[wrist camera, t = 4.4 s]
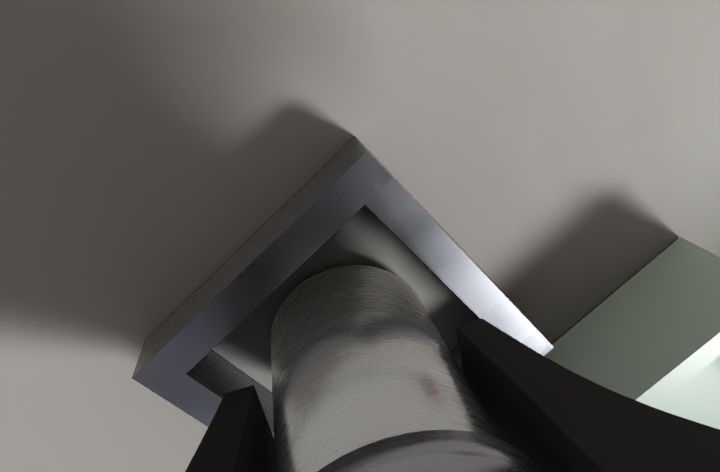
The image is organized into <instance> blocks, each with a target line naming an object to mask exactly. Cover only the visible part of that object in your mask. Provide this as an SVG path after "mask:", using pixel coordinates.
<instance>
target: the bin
mask: <svg viewBox="0 0 720 472" xmlns="http://www.w3.org/2000/svg"><path fill="white" fill-rule="evenodd" d="M552 346H553V347H554V348H553V349H552V350H551V351H550V352H548V353H547V354H546V355H545V357H547V358H548V359H550V360H552V361H554V362H555V363H557V364H559V365H561V366H563V367H565V368H566V369H568V370H570V371H572V372H574V373H576V374H578V375H580V376H582V377H584V378H586V379H588V380H590V381H592V382H595V383H597V384H599V385H601V386H603V387H605V388H607V389H610V390H612V391H614V392H616V393H619V394H621V395H624V396H626V397H629V398H631V399H634V400H636V401H639V402H641V403H643V404H646V405H648V406H651V407H654V408H656V409H659V410H662V411H665V412H667V413H670V414H673V415H676V416H679V417H682V418H685V419H688V420H691V421H694V422H698V423H701V424H704V425H707V426H710V427H713V428H716V429H720V257H718V256H716V255H714V254H712V253H710V252H708V251H706V250H704V249H702V248H700V247H698V246H696V245H694V244H692V243H690V242H688V241H686V240H685V239H683V238H681V237H679V238H678V239H677V240H676V241H675V242H674V243H672V244H671V245H670V246H669V247H668V248H666V249H665V250H664V251H663V252H662V253H660V254H659V255H658V256H657V257H656V258H654V259H653V260H652V261H651V262H650V263H649V264H647V265H646V266H645V267H644V268H643V269H641V270H640V271H639V272H638V273H637V274H635V275H634V276H633V277H632V278H631V279H630V280H628V281H627V282H626V283H625V284H624V285H622V286H621V287H620V288H619V289H618V290H616V291H615V292H614V293H613V294H612V295H610V296H609V297H608V298H607V299H606V300H605V301H603V302H602V303H601V304H600V305H599V306H597V307H596V308H595V309H594V310H593V311H591V312H590V313H589V314H588V315H587V316H586V317H584V318H583V319H582V320H581V321H580V322H578V323H577V324H576V325H575V326H574V327H572V328H571V329H570V330H569V331H568V332H566V333H565V334H564V335H563V336H562V337H561V338H559V339H558V340H557V341H556V342H555V343H553V344H552Z"/></svg>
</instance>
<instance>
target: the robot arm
mask: <svg viewBox="0 0 720 472" xmlns="http://www.w3.org/2000/svg"><path fill="white" fill-rule="evenodd" d="M456 332H457V338H458V343H459V349H460V355H461V361H462V367H463V373H464V377H465V379H466V381H467V382H468V384H469V386H470V388H471V389H472V391H473V393H474V395H475V396H476V398H477V400H478V402H479V403H480V405H481V407H482V408H483V410H484V412H485V414H486V415H487V417H488V419H489V421H490V422H491V424H492V426H493V427H494V429H495V431H496V433H497V434H498V436H499V438H500V440H502V441H504V442H506V443H508V444H510V445H512V446H514V447H516V448H517V449H519V450H520V451H522V452H523V453H524V454H525V455H527V456H528V457H529V458H531V460H532V461H533V462H534V463H535V464H536V465H537V466H538V467H539V468H540V470H541V471H542V472H720V429H716V428H713V427H710V426H707V425H704V424H701V423H698V422H694V421H691V420H688V419H685V418H682V417H679V416H676V415H673V414H670V413H667V412H665V411H662V410H659V409H656V408H654V407H651V406H648V405H646V404H643V403H641V402H639V401H636V400H634V399H631V398H629V397H626V396H624V395H621V394H619V393H616V392H614V391H612V390H610V389H607V388H605V387H603V386H601V385H599V384H597V383H595V382H592V381H590V380H588V379H586V378H584V377H582V376H580V375H578V374H576V373H574V372H572V371H570V370H568V369H566V368H565V367H563V366H561V365H559V364H557V363H555V362H554V361H552V360H550V359H548V358H547V357H545V356H543V355H541V354H540V353H538V352H536V351H534V350H533V349H531V348H529V347H528V346H526V345H524V344H523V343H521V342H519V341H518V340H516V339H515V338H513V337H511V336H510V335H508V334H507V333H505V332H503V331H502V330H500V329H499V328H497V327H495V326H494V325H492V324H490V323H489V322H487V321H485V320H484V319H478V320H475V321H472V322H468V323H465V324H461V325H458V326H456ZM185 472H275V447H274V437H273V435H272V432H271V429H270V427H269V424H268V421H267V419H266V416H265V413H264V411H263V408H262V405H261V403H260V400H259V397H258V395H257V392H256V389H255V387H254V385H252V386H249V387H245V388H242V389H238V390H235V391H231V392H228V393H226V394H225V395H224V397H223V398H222V400H221V402H220V404H219V406H218V408H217V411H216V413H215V415H214V417H213V419H212V421H211V423H210V425H209V427H208V429H207V431H206V433H205V435H204V437H203V439H202V441H201V443H200V445H199V447H198V449H197V451H196V453H195V454H194V456H193V458H192V460H191V462H190V464H189V466H188V467H187V469H186V471H185Z"/></svg>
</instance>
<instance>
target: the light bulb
mask: <svg viewBox="0 0 720 472" xmlns="http://www.w3.org/2000/svg"><path fill="white" fill-rule="evenodd" d="M271 366H272V393H273V420H274V447H275V472H542V471H541V470H540V468H539V467H538V466H537V465H536V464H535V463H534V462H533V461H532V460H531V458H529V457H528V456H527V455H525V454H524V453H523V452H522V451H520V450H519V449H517V448H516V447H514V446H512V445H510V444H508V443H506V442H504V441H502V440H500V438H499V436H498V434H497V433H496V431H495V429H494V427H493V426H492V424H491V422H490V421H489V419H488V417H487V415H486V414H485V412H484V410H483V408H482V407H481V405H480V403H479V402H478V400H477V398H476V396H475V395H474V393H473V391H472V389H471V388H470V386H469V384H468V382H467V381H466V379H465V377H464V376H463V374H462V372H461V370H460V369H459V367H458V365H457V363H456V362H455V360H454V358H453V356H452V355H451V353H450V351H449V350H448V348H447V346H446V344H445V343H444V341H443V339H442V337H441V336H440V334H439V332H438V330H437V329H436V327H435V325H434V324H433V322H432V320H431V318H430V317H429V315H428V313H427V311H426V310H425V308H424V306H423V305H422V303H421V301H420V299H419V298H418V296H417V295H416V293H415V292H414V290H413V289H412V288H411V287H410V286H409V285H408V284H407V283H406V282H405V281H404V280H402V279H401V278H399V277H398V276H396V275H395V274H393V273H391V272H388V271H386V270H383V269H380V268H377V267H372V266H366V265H347V266H340V267H335V268H331V269H328V270H325V271H322V272H320V273H318V274H316V275H314V276H312V277H310V278H309V279H307V280H305V281H304V282H302V283H301V284H300V285H299V286H297V287H296V288H295V289H294V290H293V291H292V292H291V293H290V294H289V295H288V296H287V297H286V299H285V300H284V301H283V303H282V304H281V306H280V308H279V310H278V311H277V313H276V316H275V319H274V321H273V325H272V330H271Z"/></svg>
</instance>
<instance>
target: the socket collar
mask: <svg viewBox="0 0 720 472" xmlns="http://www.w3.org/2000/svg"><path fill="white" fill-rule="evenodd" d="M364 205H366V206H367V207H368V208H369V209H370V210H371V211H372V212H373V213H374V214H375V215H376V216H377V217H378V218H379V219H380V220H381V221H382V222H383V223H384V224H385V225H386V226H387V227H388V228H389V229H390V230H391V231H392V232H393V233H394V234H395V235H396V236H397V237H398V238H399V239H400V240H401V241H402V242H403V243H404V244H405V245H406V246H407V247H408V248H409V249H410V250H411V251H412V252H413V253H414V254H415V255H416V256H417V257H418V258H419V259H420V260H421V261H422V262H423V263H424V264H426V265H427V266H428V267H429V268H430V269H431V270H432V271H433V272H434V273H435V274H436V275H437V276H438V277H439V278H440V279H441V280H442V281H443V282H444V283H445V284H446V285H447V286H448V287H449V288H450V289H451V290H452V291H453V292H454V293H455V294H456V295H457V296H458V297H459V298H460V299H461V300H462V301H463V302H464V303H465V304H466V305H467V306H468V307H469V308H470V309H471V310H472V311H473V312H474V313H475V314H476V315H477V316H478V317H479V318H480V319H484V320H485V321H487V322H489V323H490V324H492V325H494V326H495V327H497V328H499V329H500V330H502V331H503V332H505V333H507V334H508V335H510V336H511V337H513V338H515V339H516V340H518V341H519V342H521V343H523V344H524V345H526V346H528V347H529V348H531V349H533V350H534V351H536V352H538V353H540V354H541V355H543V356H545V355H546V354H547V353H548V352H550V351H551V350H552V349H553V348H554V347H553V346H552V344H551V343H550V342H549V341H548V340H547V339H546V338H545V337H544V336H543V335H542V333H541V332H540V331H539V330H538V329H537V328H536V327H535V326H534V325H533V323H532V322H531V321H530V320H529V319H528V318H527V317H526V316H525V315H524V314H523V313H522V312H521V311H520V309H519V308H518V307H517V306H516V305H515V304H514V303H513V302H512V301H511V300H510V299H509V298H508V297H507V296H506V295H505V294H504V293H503V292H502V291H501V289H500V288H499V287H498V286H497V285H496V284H495V283H494V282H493V281H492V280H491V279H490V278H489V277H488V276H487V275H486V274H485V273H484V272H483V270H482V269H481V268H480V267H479V266H478V265H477V264H476V263H475V262H474V261H473V260H472V259H471V258H470V257H469V256H468V255H467V254H466V253H465V252H464V250H463V249H462V248H461V247H460V246H459V245H458V244H457V243H456V242H455V241H454V240H453V239H452V238H451V237H450V236H449V235H448V234H447V233H446V231H445V230H444V229H443V228H442V227H441V226H440V225H439V224H438V223H437V222H436V221H435V220H434V219H433V218H432V217H431V216H430V215H429V214H428V213H427V211H426V210H425V209H424V208H423V207H422V206H421V205H420V204H419V203H418V202H417V201H416V200H415V199H414V198H413V197H412V196H411V195H410V194H409V192H408V191H407V190H406V189H405V188H404V187H403V186H402V185H401V184H400V183H399V182H398V181H397V180H396V179H395V178H394V177H393V176H392V175H391V173H390V172H389V171H388V170H387V169H386V168H385V167H384V166H383V165H382V164H381V163H380V162H379V161H378V160H377V159H376V158H375V157H374V156H373V155H372V153H371V152H370V151H369V150H368V149H367V148H366V147H365V146H364V145H363V144H362V143H361V142H360V141H359V140H358V139H357V138H356V137H355V136H354V137H353V138H352V139H351V140H350V141H349V142H348V143H347V144H346V145H345V146H344V147H343V148H342V149H341V150H340V151H339V152H338V153H337V154H336V155H335V156H334V157H333V158H332V159H331V160H330V161H329V162H328V163H327V164H326V165H325V166H324V167H323V168H322V169H321V170H320V171H319V172H318V173H316V174H315V175H314V176H313V177H312V178H311V179H310V180H309V181H308V182H307V183H306V184H305V185H304V186H303V187H302V188H301V189H300V190H299V191H298V192H297V193H296V194H295V195H294V196H293V197H292V198H291V199H290V200H289V201H288V202H287V203H286V204H285V205H284V206H283V207H282V208H281V209H280V210H278V211H277V212H276V213H275V214H274V215H273V216H272V217H271V218H270V219H269V220H268V221H267V222H266V223H265V224H264V225H263V226H262V227H261V228H260V229H259V230H258V231H257V232H256V233H255V234H254V235H253V236H252V237H251V238H250V239H249V240H248V241H247V242H246V243H245V244H244V245H243V246H242V247H241V248H239V249H238V250H237V251H236V252H235V253H234V254H233V255H232V256H231V257H230V258H229V259H228V260H227V261H226V262H225V263H224V264H223V265H222V266H221V267H220V268H219V269H218V270H217V271H216V272H215V273H214V274H213V275H212V276H211V277H210V278H209V279H208V280H207V281H206V282H205V283H204V284H203V285H201V286H200V287H199V288H198V289H197V290H196V291H195V292H194V293H193V294H192V295H191V296H190V297H189V298H188V299H187V300H186V301H185V302H184V303H183V304H182V305H181V306H180V307H179V308H178V309H177V310H176V311H175V312H174V313H173V314H172V315H171V316H170V317H169V318H168V319H167V320H166V321H165V322H164V323H162V324H161V325H160V326H159V327H158V328H157V329H156V330H155V331H154V332H153V333H152V334H151V335H150V336H149V337H148V338H147V339H146V340H145V342H144V345H143V348H142V351H141V354H140V356H139V359H138V362H137V365H136V368H135V371H134V373H133V376H132V378H133V379H134V380H136V381H137V382H139V383H141V384H142V385H144V386H145V387H147V388H148V389H150V390H151V391H153V392H155V393H156V394H158V395H159V396H161V397H162V398H164V399H166V400H167V401H169V402H170V403H172V404H173V405H175V406H177V407H178V408H180V409H181V410H183V411H184V412H186V413H187V414H189V415H191V416H192V417H194V418H195V419H197V420H198V421H200V422H202V423H203V424H205V425H206V426H208V427H209V425H210V423H211V421H212V419H213V417H214V415H215V413H216V411H217V408H218V406H219V404H220V402H221V400H222V398H223V397H224V395H225V394H226V393H228V392H231V391H235V390H238V389H242V388H245V387H249V386H252V385H254V387H255V389H256V392H257V395H258V397H259V400H260V403H261V405H262V408H263V411H264V413H265V416H266V419H267V421H268V424H269V427H270V429H271V432H272V435H273V437H274V420H273V394H272V393H271V392H269V391H268V390H267V389H265V388H264V387H262V386H261V385H260V384H258V383H257V382H255V381H254V380H252V379H251V378H250V377H248V376H247V375H245V374H244V373H243V372H241V371H240V370H238V369H237V368H236V367H234V366H233V365H231V364H230V363H229V362H227V361H226V360H224V359H223V358H222V357H220V356H219V355H217V354H216V353H215V352H213V351H212V349H213V348H214V347H215V346H216V345H217V344H218V343H219V342H220V341H221V340H222V339H223V338H225V337H226V336H227V335H228V334H229V333H230V332H231V331H232V330H233V329H234V328H235V327H236V326H237V325H238V324H239V323H240V322H241V321H242V320H244V319H245V318H246V317H247V316H248V315H249V314H250V313H251V312H252V311H253V310H254V309H255V308H256V307H257V306H258V305H259V304H260V303H262V302H263V301H264V300H265V299H266V298H267V297H268V296H269V295H270V294H271V293H272V292H273V291H274V290H275V289H276V288H277V287H278V286H279V285H281V284H282V283H283V282H284V281H285V280H286V279H287V278H288V277H289V276H290V275H291V274H292V273H293V272H294V271H295V270H296V269H297V268H299V267H300V266H301V265H302V264H303V263H304V262H305V261H306V260H307V259H308V258H309V257H310V256H311V255H312V254H313V253H314V252H315V251H316V250H318V249H319V248H320V247H321V246H322V245H323V244H324V243H325V242H326V241H327V240H328V239H329V238H330V237H331V236H332V235H333V234H334V233H335V232H337V231H338V230H339V229H340V228H341V227H342V226H343V225H344V224H345V223H346V222H347V221H348V220H349V219H350V218H351V217H352V216H353V215H355V214H356V213H357V212H358V211H359V210H360V209H361V208H362V207H363V206H364ZM450 353H451V355H452V356H453V358H454V360H455V362H456V363H457V365H458V367H459V369H460V370H461V372H462V374H463V376H464V373H463V367H462V361H461V355H460V349H459V345H458V346H457V347H456V348H455V349H454V350H453V351H452V352H450Z"/></svg>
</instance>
